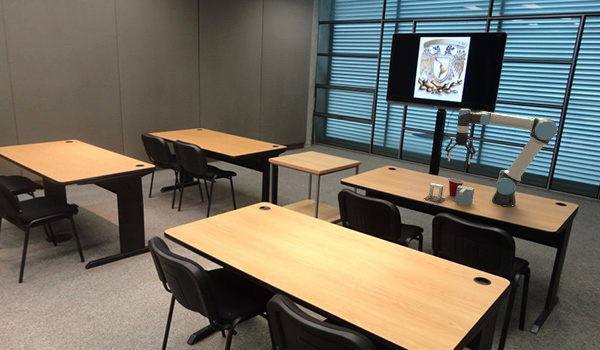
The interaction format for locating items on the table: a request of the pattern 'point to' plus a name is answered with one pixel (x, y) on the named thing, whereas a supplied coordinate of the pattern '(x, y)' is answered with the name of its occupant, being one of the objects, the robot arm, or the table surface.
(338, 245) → the table surface
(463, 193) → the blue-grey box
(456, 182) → the plastic cup
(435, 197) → the rubber mat
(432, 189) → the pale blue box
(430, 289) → the table surface
